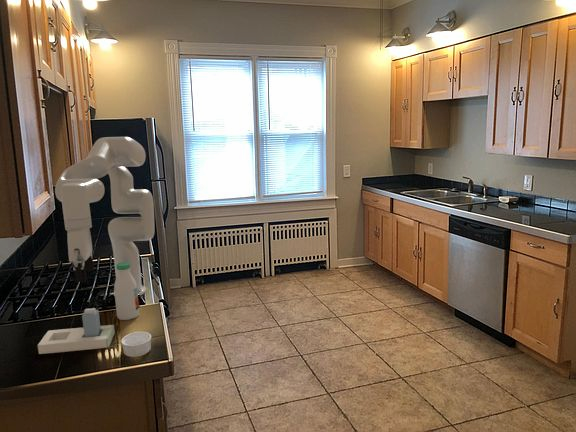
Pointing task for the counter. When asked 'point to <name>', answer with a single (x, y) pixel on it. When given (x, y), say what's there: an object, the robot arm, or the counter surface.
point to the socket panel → (74, 340)
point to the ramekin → (136, 344)
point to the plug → (91, 323)
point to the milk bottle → (126, 293)
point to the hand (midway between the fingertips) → (85, 276)
